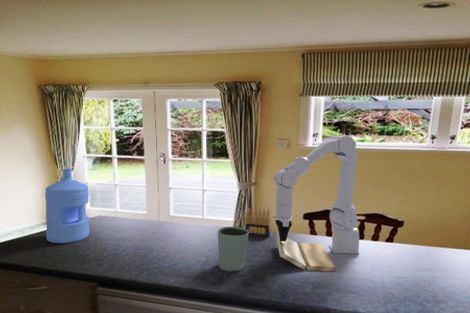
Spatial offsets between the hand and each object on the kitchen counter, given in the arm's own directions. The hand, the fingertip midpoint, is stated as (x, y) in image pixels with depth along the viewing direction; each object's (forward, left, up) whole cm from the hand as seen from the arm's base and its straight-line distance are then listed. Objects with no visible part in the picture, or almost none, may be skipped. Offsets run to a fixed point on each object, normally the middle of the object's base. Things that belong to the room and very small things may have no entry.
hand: (282, 240), depth 120 cm
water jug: (+85, -12, -6) cm, 87 cm away
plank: (-2, 0, -4) cm, 4 cm away
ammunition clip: (+8, -23, -6) cm, 25 cm away
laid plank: (-12, 0, -6) cm, 13 cm away
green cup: (+17, +10, -6) cm, 21 cm away
